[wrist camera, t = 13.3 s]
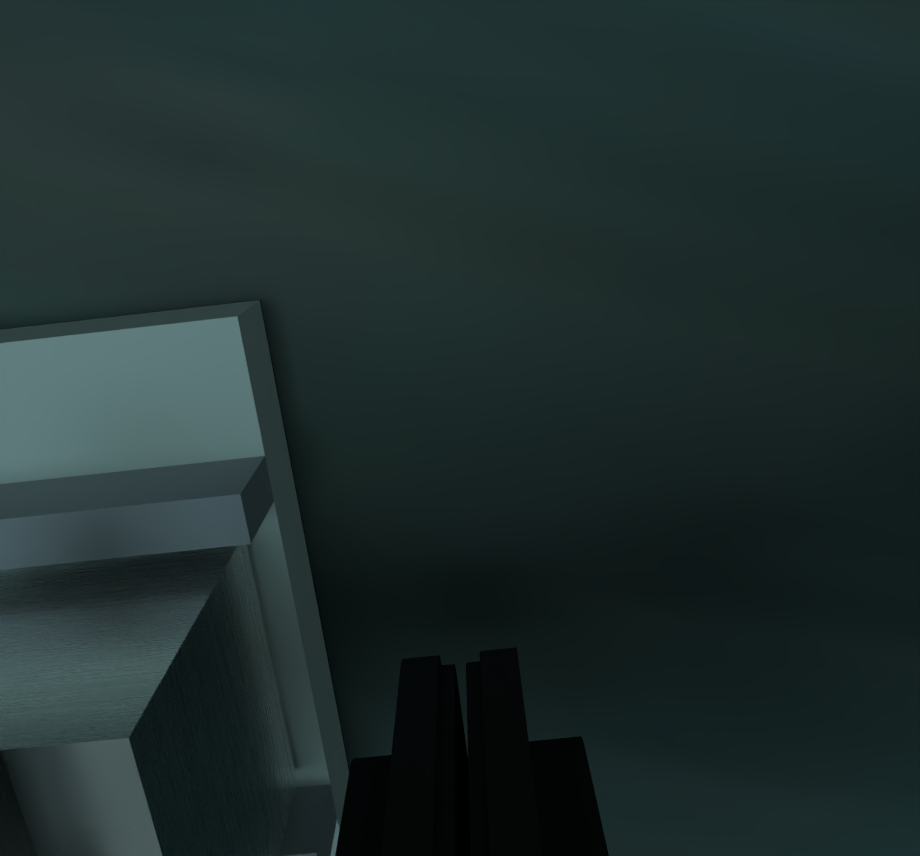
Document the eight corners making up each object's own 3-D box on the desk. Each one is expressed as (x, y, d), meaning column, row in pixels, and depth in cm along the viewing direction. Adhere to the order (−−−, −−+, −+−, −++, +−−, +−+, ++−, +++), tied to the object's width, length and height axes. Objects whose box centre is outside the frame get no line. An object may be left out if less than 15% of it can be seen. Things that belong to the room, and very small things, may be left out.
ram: (226, 447, 13) (35, 686, 7) (311, 845, 16) (220, 1265, 10) (-20, 474, 13) (-406, 730, 7) (103, 864, 16) (-111, 1289, 10)
